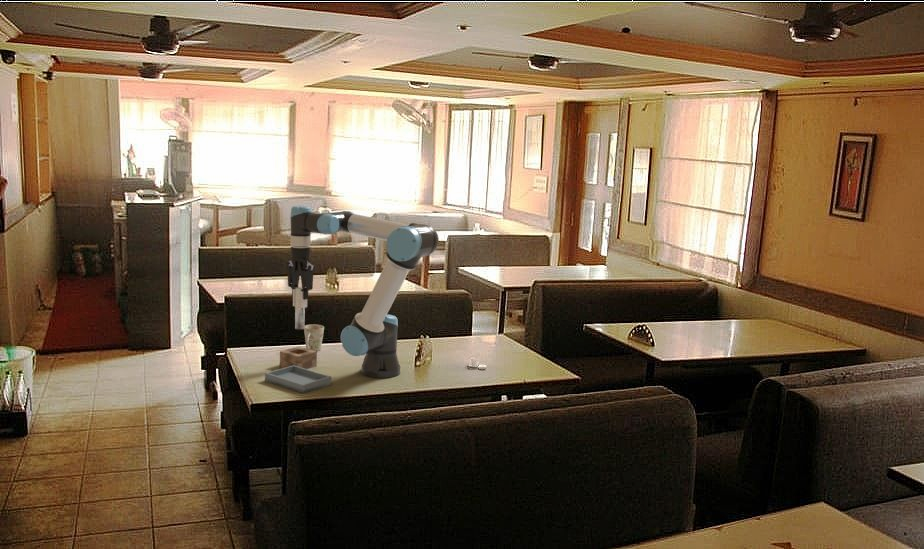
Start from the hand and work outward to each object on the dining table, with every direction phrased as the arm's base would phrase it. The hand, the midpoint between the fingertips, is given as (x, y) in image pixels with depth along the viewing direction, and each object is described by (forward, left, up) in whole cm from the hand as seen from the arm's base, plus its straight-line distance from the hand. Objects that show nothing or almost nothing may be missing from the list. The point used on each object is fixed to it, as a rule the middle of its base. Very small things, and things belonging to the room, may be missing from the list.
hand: (300, 306), depth 294 cm
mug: (+12, -19, -24) cm, 33 cm away
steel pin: (0, 0, -9) cm, 9 cm away
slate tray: (-15, +14, -24) cm, 32 cm away
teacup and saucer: (-52, -47, -25) cm, 74 cm away
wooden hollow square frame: (0, 0, -24) cm, 24 cm away
